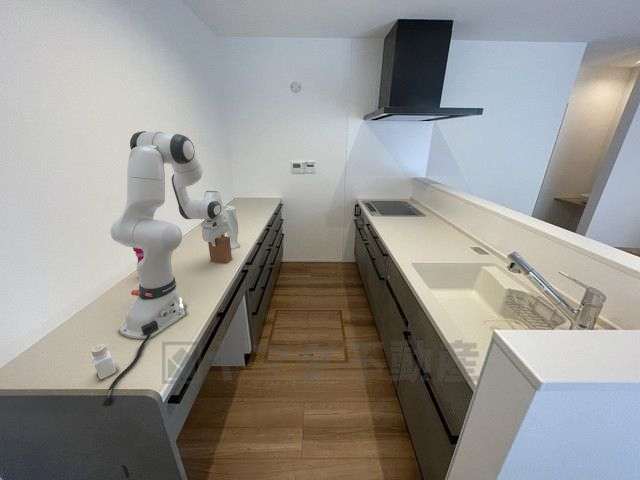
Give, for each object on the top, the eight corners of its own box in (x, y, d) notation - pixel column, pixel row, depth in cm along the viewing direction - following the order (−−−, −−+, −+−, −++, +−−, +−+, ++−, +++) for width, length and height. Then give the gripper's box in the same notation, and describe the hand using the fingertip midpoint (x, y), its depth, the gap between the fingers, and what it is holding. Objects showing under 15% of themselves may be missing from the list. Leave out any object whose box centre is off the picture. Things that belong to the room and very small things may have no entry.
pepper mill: (147, 280, 128) (138, 242, 121) (134, 278, 129) (125, 241, 122) (158, 273, 135) (151, 237, 127) (146, 272, 136) (138, 236, 129)
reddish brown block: (223, 239, 143) (207, 237, 145) (226, 263, 148) (210, 261, 150) (229, 235, 148) (213, 234, 150) (231, 259, 153) (216, 257, 155)
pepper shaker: (100, 380, 76) (90, 355, 72) (97, 373, 78) (87, 348, 75) (117, 372, 79) (108, 347, 75) (113, 365, 81) (105, 340, 78)
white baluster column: (230, 250, 166) (225, 206, 156) (225, 246, 171) (220, 204, 161) (241, 247, 171) (238, 205, 160) (236, 243, 176) (233, 202, 166)
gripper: (221, 214, 153) (223, 236, 158) (198, 225, 135) (202, 249, 140) (230, 215, 152) (233, 237, 157) (209, 226, 133) (212, 251, 138)
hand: (218, 243), depth 148 cm, fingers closed on reddish brown block, 6 cm apart
